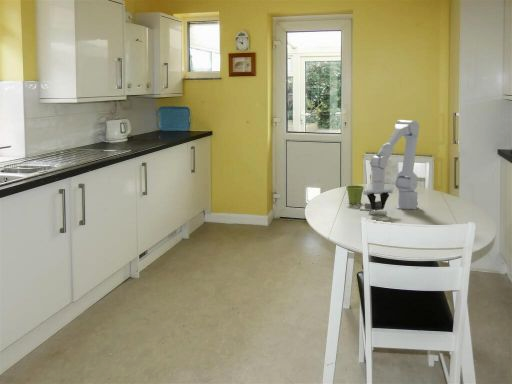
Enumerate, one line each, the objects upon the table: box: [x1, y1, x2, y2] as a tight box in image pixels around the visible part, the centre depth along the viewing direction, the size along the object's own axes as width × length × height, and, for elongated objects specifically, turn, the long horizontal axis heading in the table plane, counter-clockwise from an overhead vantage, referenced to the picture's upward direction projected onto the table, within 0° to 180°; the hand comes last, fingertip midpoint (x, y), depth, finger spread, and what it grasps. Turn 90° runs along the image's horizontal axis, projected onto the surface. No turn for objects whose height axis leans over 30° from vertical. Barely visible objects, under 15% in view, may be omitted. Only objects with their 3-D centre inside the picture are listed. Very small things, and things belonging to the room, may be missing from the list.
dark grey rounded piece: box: [374, 200, 384, 211], centre depth 272 cm, size 6×4×4 cm
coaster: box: [368, 210, 387, 217], centre depth 272 cm, size 8×8×1 cm
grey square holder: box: [359, 201, 377, 211], centre depth 282 cm, size 8×8×3 cm
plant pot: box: [345, 184, 365, 205], centre depth 296 cm, size 9×9×9 cm
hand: (377, 208), depth 271 cm, fingers closed on dark grey rounded piece, 4 cm apart
